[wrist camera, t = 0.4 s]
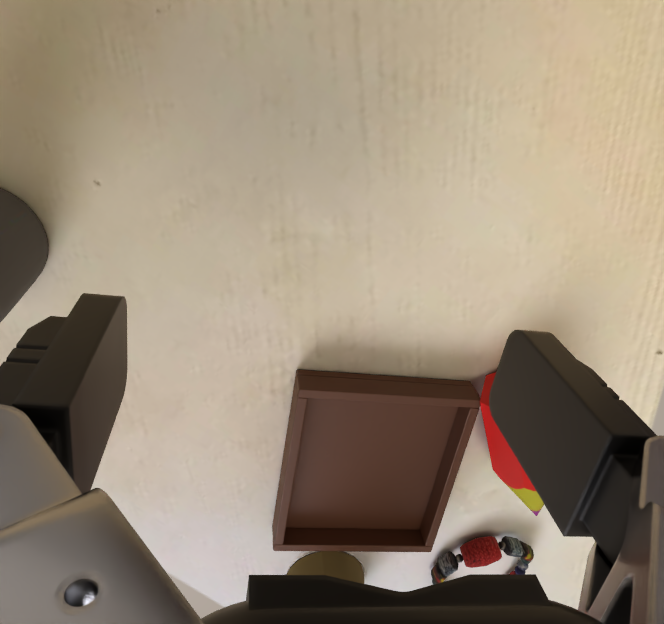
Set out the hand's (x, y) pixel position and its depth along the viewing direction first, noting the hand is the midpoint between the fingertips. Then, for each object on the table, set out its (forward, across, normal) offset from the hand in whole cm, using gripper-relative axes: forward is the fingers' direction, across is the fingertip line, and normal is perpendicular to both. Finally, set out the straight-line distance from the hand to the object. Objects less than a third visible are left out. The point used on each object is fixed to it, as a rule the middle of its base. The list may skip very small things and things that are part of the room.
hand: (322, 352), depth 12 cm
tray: (+18, -8, +19) cm, 27 cm away
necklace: (+19, -20, +31) cm, 41 cm away
